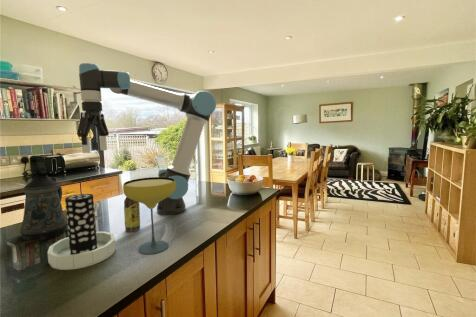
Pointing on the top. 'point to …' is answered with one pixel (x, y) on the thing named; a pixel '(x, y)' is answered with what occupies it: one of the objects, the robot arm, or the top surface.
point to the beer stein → (43, 209)
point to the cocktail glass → (150, 203)
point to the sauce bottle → (131, 215)
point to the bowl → (65, 261)
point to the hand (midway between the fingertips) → (95, 151)
